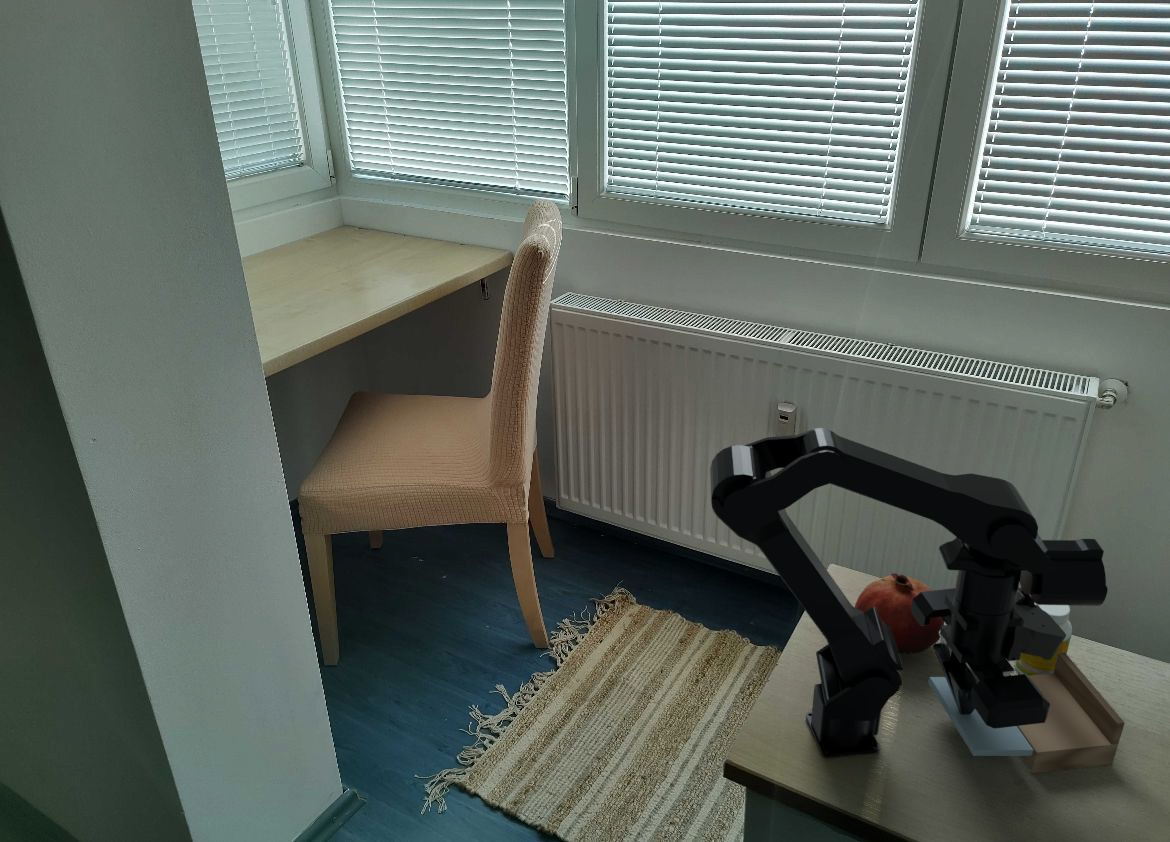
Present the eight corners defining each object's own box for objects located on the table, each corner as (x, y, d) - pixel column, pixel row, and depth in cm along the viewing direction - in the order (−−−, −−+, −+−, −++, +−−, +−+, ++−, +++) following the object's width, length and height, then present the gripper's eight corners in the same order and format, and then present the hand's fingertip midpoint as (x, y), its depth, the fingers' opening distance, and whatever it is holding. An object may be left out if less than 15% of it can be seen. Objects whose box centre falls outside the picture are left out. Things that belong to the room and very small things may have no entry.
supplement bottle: (1066, 686, 108) (1083, 622, 103) (1018, 681, 109) (1032, 617, 104) (1055, 656, 112) (1070, 593, 108) (1008, 652, 113) (1022, 589, 109)
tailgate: (1030, 757, 95) (972, 757, 95) (979, 684, 105) (927, 684, 104) (1033, 750, 95) (975, 750, 94) (982, 677, 105) (929, 676, 104)
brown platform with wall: (1031, 773, 97) (1042, 731, 94) (981, 699, 106) (989, 659, 104) (1112, 764, 97) (1124, 722, 94) (1055, 691, 107) (1065, 652, 104)
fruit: (841, 651, 115) (847, 587, 110) (866, 608, 122) (873, 547, 118) (927, 681, 109) (937, 615, 105) (947, 634, 117) (958, 571, 112)
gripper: (1116, 650, 84) (1084, 770, 91) (1013, 539, 101) (993, 648, 108) (1001, 663, 84) (978, 783, 91) (916, 549, 100) (902, 658, 107)
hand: (964, 712), depth 99 cm, fingers closed, pressing on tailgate
